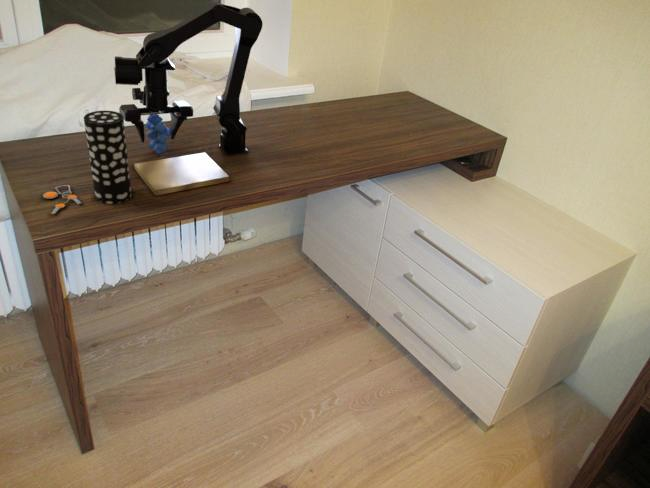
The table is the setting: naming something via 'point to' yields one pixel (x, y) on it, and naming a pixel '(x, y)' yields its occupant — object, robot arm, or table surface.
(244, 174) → the table surface
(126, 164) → the spotted tube
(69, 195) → the key chain
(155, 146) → the grapes
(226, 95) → the robot arm
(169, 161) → the board
